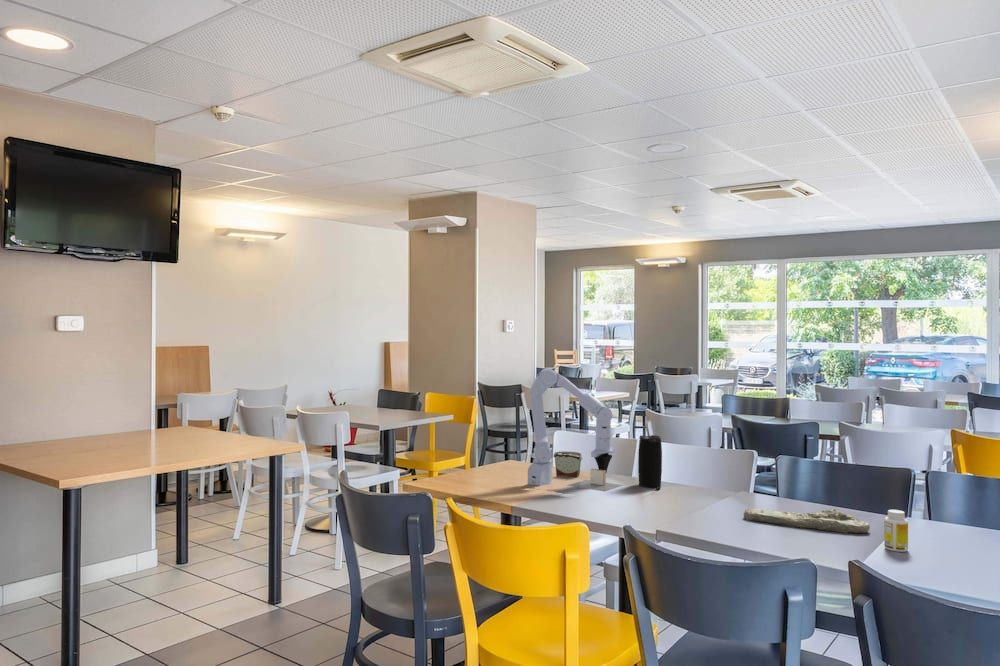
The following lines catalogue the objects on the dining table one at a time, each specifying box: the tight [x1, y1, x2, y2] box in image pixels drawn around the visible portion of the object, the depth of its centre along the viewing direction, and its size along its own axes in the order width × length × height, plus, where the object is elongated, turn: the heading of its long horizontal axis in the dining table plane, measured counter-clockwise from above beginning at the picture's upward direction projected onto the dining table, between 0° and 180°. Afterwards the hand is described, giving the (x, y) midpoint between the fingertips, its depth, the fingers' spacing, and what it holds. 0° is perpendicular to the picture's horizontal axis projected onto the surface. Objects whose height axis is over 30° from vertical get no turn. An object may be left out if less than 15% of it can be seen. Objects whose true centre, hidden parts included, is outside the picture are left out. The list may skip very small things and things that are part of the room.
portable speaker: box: [637, 434, 663, 492], centre depth 264 cm, size 9×9×20 cm
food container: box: [553, 450, 584, 478], centre depth 284 cm, size 12×6×10 cm, turn 58°
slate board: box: [566, 479, 624, 492], centre depth 264 cm, size 14×16×1 cm
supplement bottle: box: [883, 509, 909, 553], centre depth 190 cm, size 6×6×10 cm
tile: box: [590, 468, 607, 486], centre depth 266 cm, size 2×6×6 cm, turn 53°
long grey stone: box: [743, 507, 871, 534], centre depth 215 cm, size 35×5×10 cm
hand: (602, 473), depth 269 cm, fingers closed
